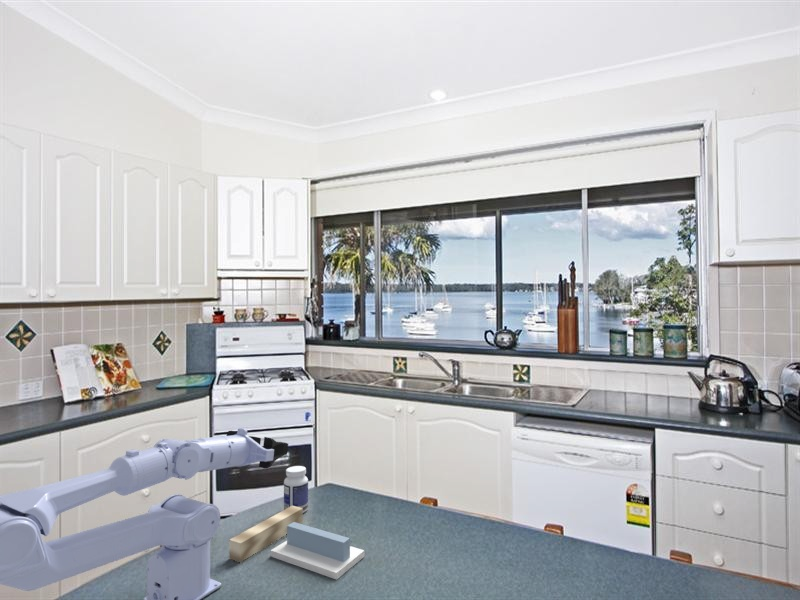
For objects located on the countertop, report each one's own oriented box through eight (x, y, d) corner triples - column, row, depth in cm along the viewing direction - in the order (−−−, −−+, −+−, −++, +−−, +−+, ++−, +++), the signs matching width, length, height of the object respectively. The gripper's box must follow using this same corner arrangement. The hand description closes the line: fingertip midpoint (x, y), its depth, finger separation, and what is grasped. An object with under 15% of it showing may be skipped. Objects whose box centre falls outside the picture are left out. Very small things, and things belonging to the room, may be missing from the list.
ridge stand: (336, 579, 85) (336, 552, 85) (270, 556, 93) (270, 531, 93) (364, 556, 93) (364, 531, 93) (301, 537, 101) (301, 514, 101)
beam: (240, 564, 91) (240, 543, 91) (229, 560, 92) (229, 539, 92) (302, 526, 106) (302, 508, 106) (292, 523, 108) (292, 505, 108)
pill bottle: (311, 506, 116) (311, 465, 116) (304, 516, 111) (304, 473, 111) (288, 505, 117) (288, 464, 117) (280, 515, 111) (280, 472, 111)
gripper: (251, 435, 85) (301, 430, 96) (197, 425, 92) (250, 421, 103) (246, 476, 83) (297, 466, 95) (191, 463, 91) (245, 455, 102)
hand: (272, 445), depth 99 cm, fingers open, 7 cm apart
